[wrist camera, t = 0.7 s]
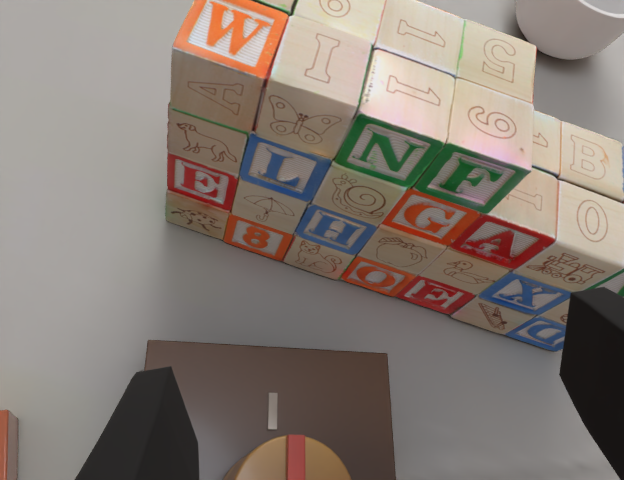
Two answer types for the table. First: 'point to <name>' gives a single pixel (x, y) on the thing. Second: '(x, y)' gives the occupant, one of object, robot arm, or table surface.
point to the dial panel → (282, 402)
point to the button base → (8, 445)
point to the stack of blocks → (392, 158)
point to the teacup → (570, 25)
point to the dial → (290, 461)
